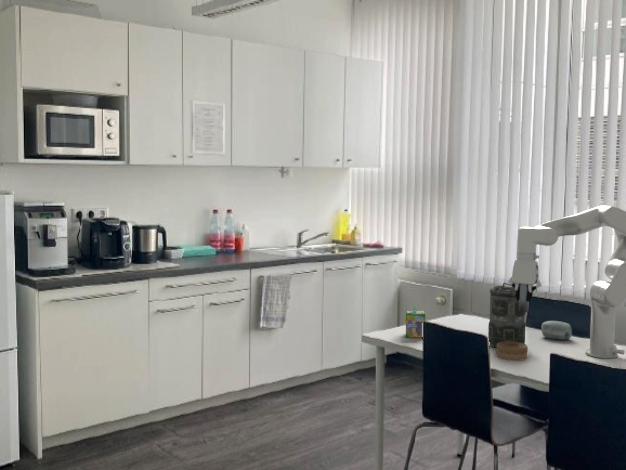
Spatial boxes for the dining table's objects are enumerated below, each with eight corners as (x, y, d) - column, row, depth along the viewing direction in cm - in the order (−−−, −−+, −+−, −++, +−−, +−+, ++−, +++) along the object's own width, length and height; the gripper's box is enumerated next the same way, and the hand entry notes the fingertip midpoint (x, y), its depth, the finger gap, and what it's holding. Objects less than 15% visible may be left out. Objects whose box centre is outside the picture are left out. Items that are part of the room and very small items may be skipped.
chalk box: (425, 338, 327) (425, 307, 325) (405, 337, 328) (405, 306, 327) (425, 334, 336) (425, 303, 334) (405, 333, 337) (406, 302, 336)
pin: (529, 311, 294) (531, 278, 293) (526, 312, 291) (527, 279, 289) (520, 310, 296) (522, 277, 295) (516, 311, 293) (518, 278, 292)
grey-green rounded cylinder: (577, 331, 327) (569, 314, 324) (572, 344, 321) (564, 326, 318) (548, 334, 336) (541, 317, 333) (543, 346, 329) (536, 329, 326)
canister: (481, 343, 318) (482, 281, 316) (510, 340, 324) (511, 279, 321) (502, 351, 304) (503, 287, 301) (532, 348, 309) (534, 285, 307)
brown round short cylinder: (530, 355, 297) (531, 344, 296) (520, 361, 287) (520, 349, 287) (503, 351, 304) (504, 339, 304) (492, 357, 295) (492, 345, 294)
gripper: (549, 258, 289) (546, 302, 291) (510, 254, 299) (507, 296, 301) (543, 259, 283) (540, 304, 285) (503, 255, 293) (500, 299, 295)
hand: (523, 300), depth 293 cm, fingers closed on pin, 4 cm apart
